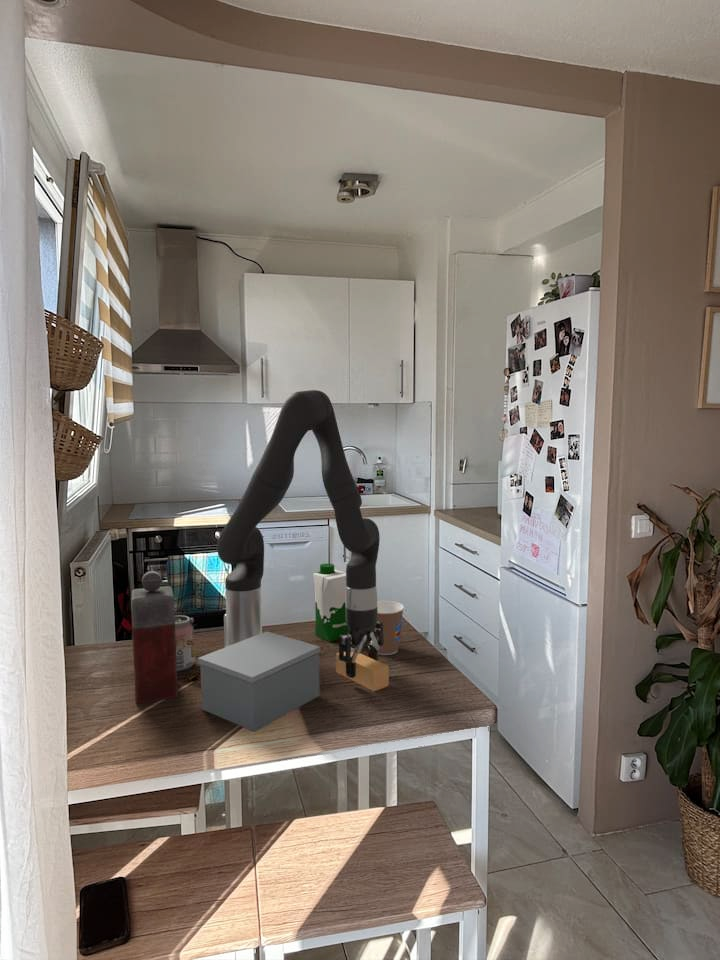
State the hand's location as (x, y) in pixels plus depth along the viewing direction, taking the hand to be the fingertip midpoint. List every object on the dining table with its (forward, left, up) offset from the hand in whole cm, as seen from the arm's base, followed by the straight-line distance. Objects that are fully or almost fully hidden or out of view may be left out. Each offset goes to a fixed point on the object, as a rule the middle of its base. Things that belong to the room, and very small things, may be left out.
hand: (362, 670), depth 154 cm
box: (-10, -23, -2) cm, 25 cm away
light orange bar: (0, 0, -2) cm, 2 cm away
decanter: (-34, -33, -2) cm, 48 cm away
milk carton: (-24, +18, -2) cm, 30 cm away
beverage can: (-42, -21, -2) cm, 47 cm away
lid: (-10, -23, +8) cm, 27 cm away
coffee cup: (-6, +18, -2) cm, 19 cm away
